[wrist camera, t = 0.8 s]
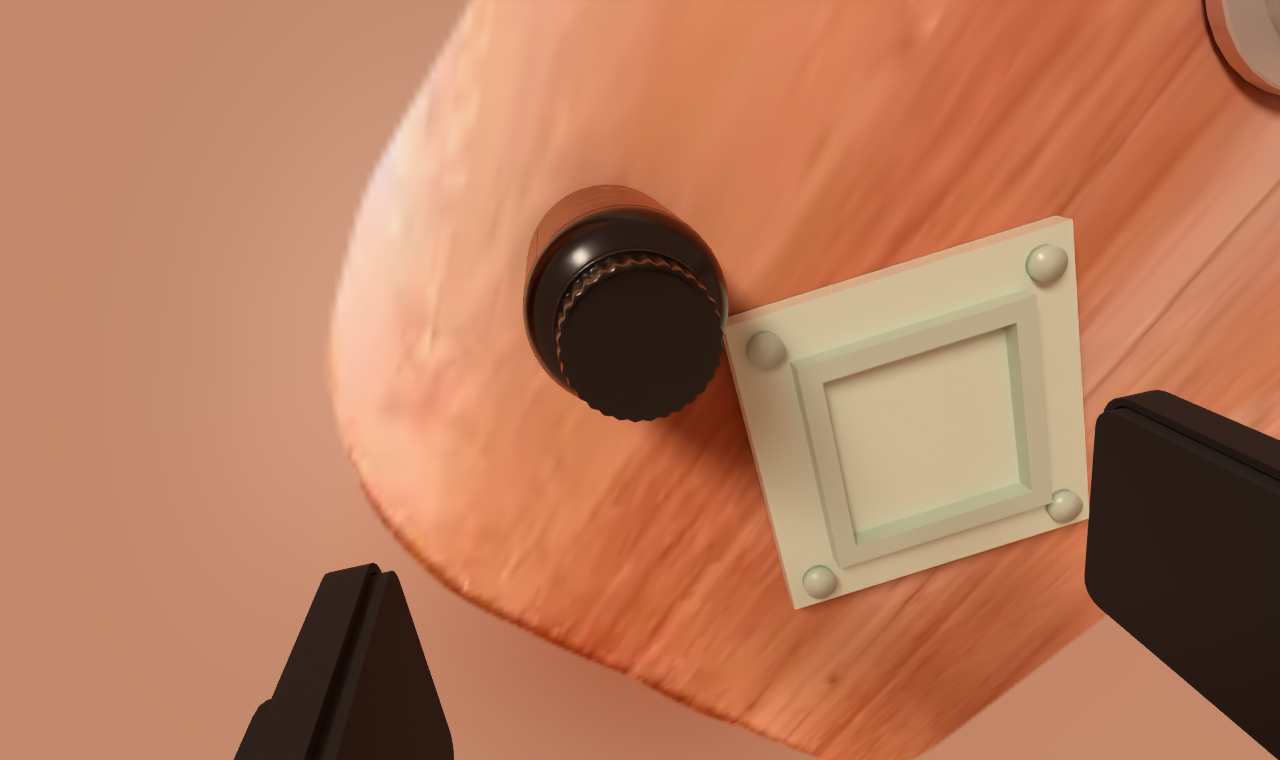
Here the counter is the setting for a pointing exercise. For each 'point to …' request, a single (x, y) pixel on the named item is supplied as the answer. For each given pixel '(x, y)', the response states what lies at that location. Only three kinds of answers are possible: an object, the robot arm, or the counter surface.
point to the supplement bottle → (624, 303)
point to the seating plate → (917, 410)
